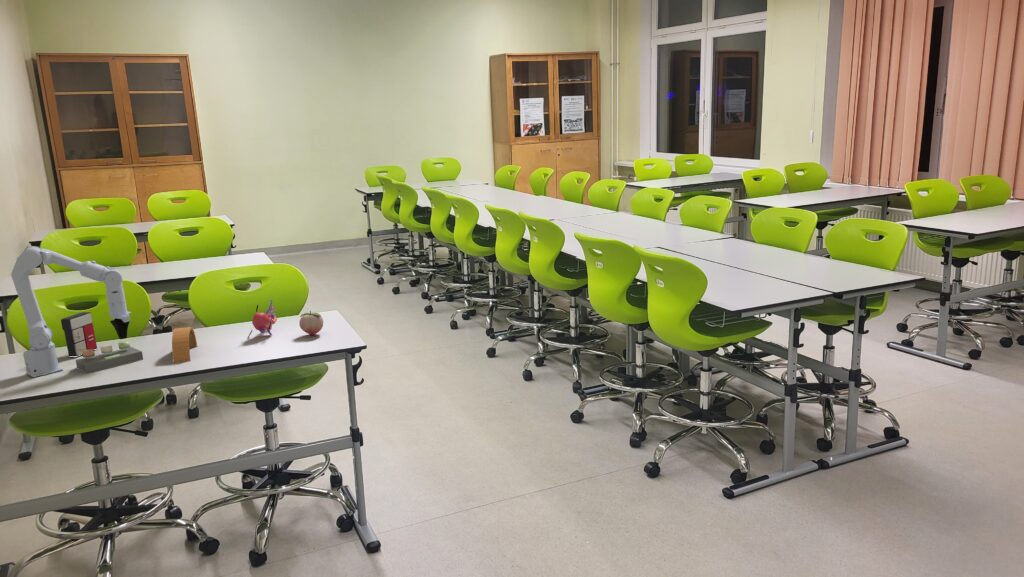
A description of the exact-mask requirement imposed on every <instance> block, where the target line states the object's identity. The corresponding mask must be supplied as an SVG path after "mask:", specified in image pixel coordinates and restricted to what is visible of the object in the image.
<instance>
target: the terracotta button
mask: <svg viewBox="0 0 1024 577" xmlns="http://www.w3.org/2000/svg"><path fill="white" fill-rule="evenodd" d="M82 353H83V355H82V358H87V357H92V356H95V354H96V353H95V350H94V349H88V350H84V351H82Z"/></svg>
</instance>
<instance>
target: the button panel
mask: <svg viewBox="0 0 1024 577" xmlns="http://www.w3.org/2000/svg"><path fill="white" fill-rule="evenodd" d="M142 360H144V355H143V351H142V350H139V349H137V348H134V347H132V346H130V347H129V348H126V349H116V350H113V351H112V352H109V353H101V354H96V355H94V356H92V357H87V358H84V357H82V358H79V359H75V364H76V368H77V369H78V368H79V369H78V370H80V371H81V370H82V371H81V372H84V373H85V374H90V373H94V372H98V371H101V370H105V369H109V368H113V367H117V366H121V365H126V364H129V363H133V362H137V361H142Z"/></svg>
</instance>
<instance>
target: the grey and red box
mask: <svg viewBox="0 0 1024 577" xmlns="http://www.w3.org/2000/svg"><path fill="white" fill-rule="evenodd" d="M91 313H92V312H90V311H82V312H79V313H76V314H72V315H70V316H67V317H63V318H61V319H60V323H61V329H62V330H63V332H64V337H65V341H66V342H65V343H66V347H67V353H68V357H69V356H79V355H81V354H83V353H82V351H84V350H88V349H96V348H97V349H98V346H97V340H96V335H95V330H94V329H95V327H94V324H93V318H92V314H91ZM97 349H96V350H97ZM81 356H82V355H81ZM79 357H80V356H79Z"/></svg>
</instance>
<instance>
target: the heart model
mask: <svg viewBox="0 0 1024 577" xmlns="http://www.w3.org/2000/svg"><path fill="white" fill-rule="evenodd" d="M269 301H270V305H269V307H268V308H267V309H266V312H258V309H259V304H257V305H256V309H255V312H256V313H254V315H253V317H252V319H251V320H252V321H251V323H252V325H253V328H254V329H255V330H257V331H259V333H261V334H264V333H265V332H267V333H268V335H269V336H270V335H273V334H272V332H271V331H272V329H273V325H274V324H276V322H277V320H278V319H277V316H276V313H273V312H278V309H275V308H274V305H273V299H272V298H271V299H270V300H269ZM254 329H251V331H250V333H249V334H248V336H247V338H249V337H250V336H251V335H252V332H253V330H254Z"/></svg>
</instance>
